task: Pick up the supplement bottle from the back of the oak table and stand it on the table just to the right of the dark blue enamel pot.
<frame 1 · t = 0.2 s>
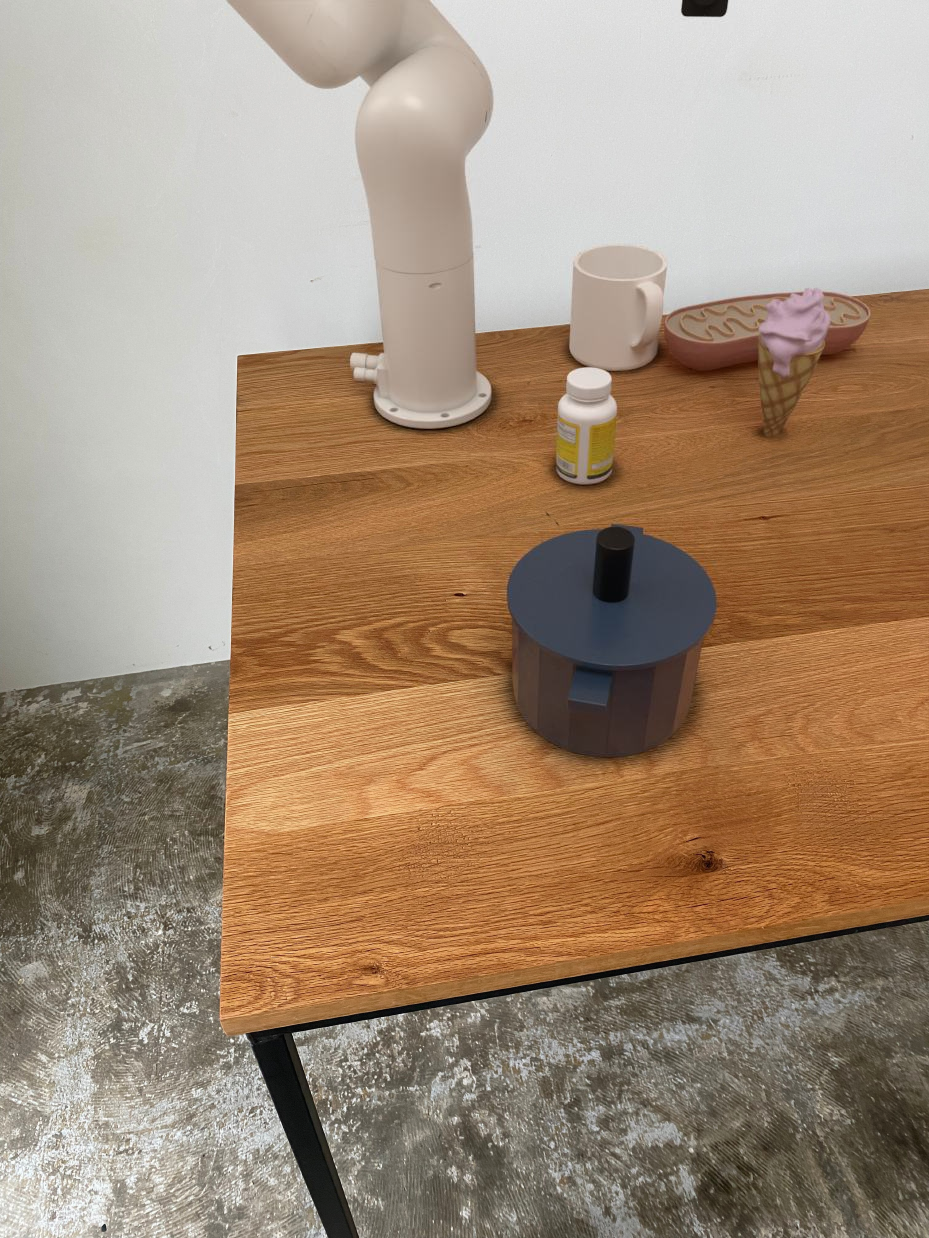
hand: (707, 2, 71), 36 cm above the table, tool pointing down, fingers open, 9 cm apart
mitochondrion model: (757, 358, 105), on the table
ice cream cone: (769, 437, 93), on the table
mug: (618, 357, 107), on the table
pot lid: (610, 597, 62), point 9 cm above the table, touching pot
supplement bottle: (583, 472, 90), on the table
pot: (601, 689, 69), on the table
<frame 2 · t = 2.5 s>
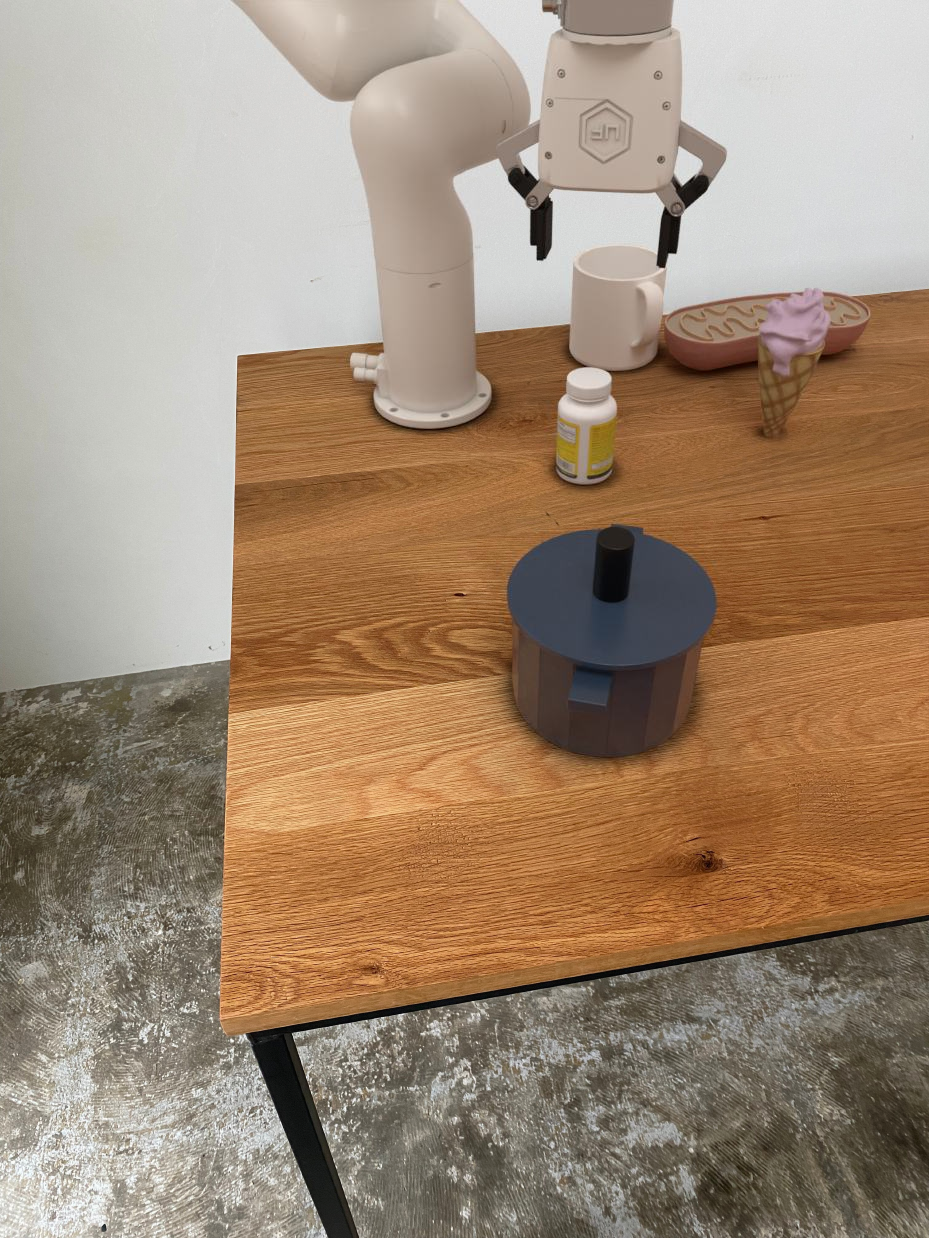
hand: (602, 258, 76), 20 cm above the table, tool pointing down, fingers open, 9 cm apart
nothing on the table moved.
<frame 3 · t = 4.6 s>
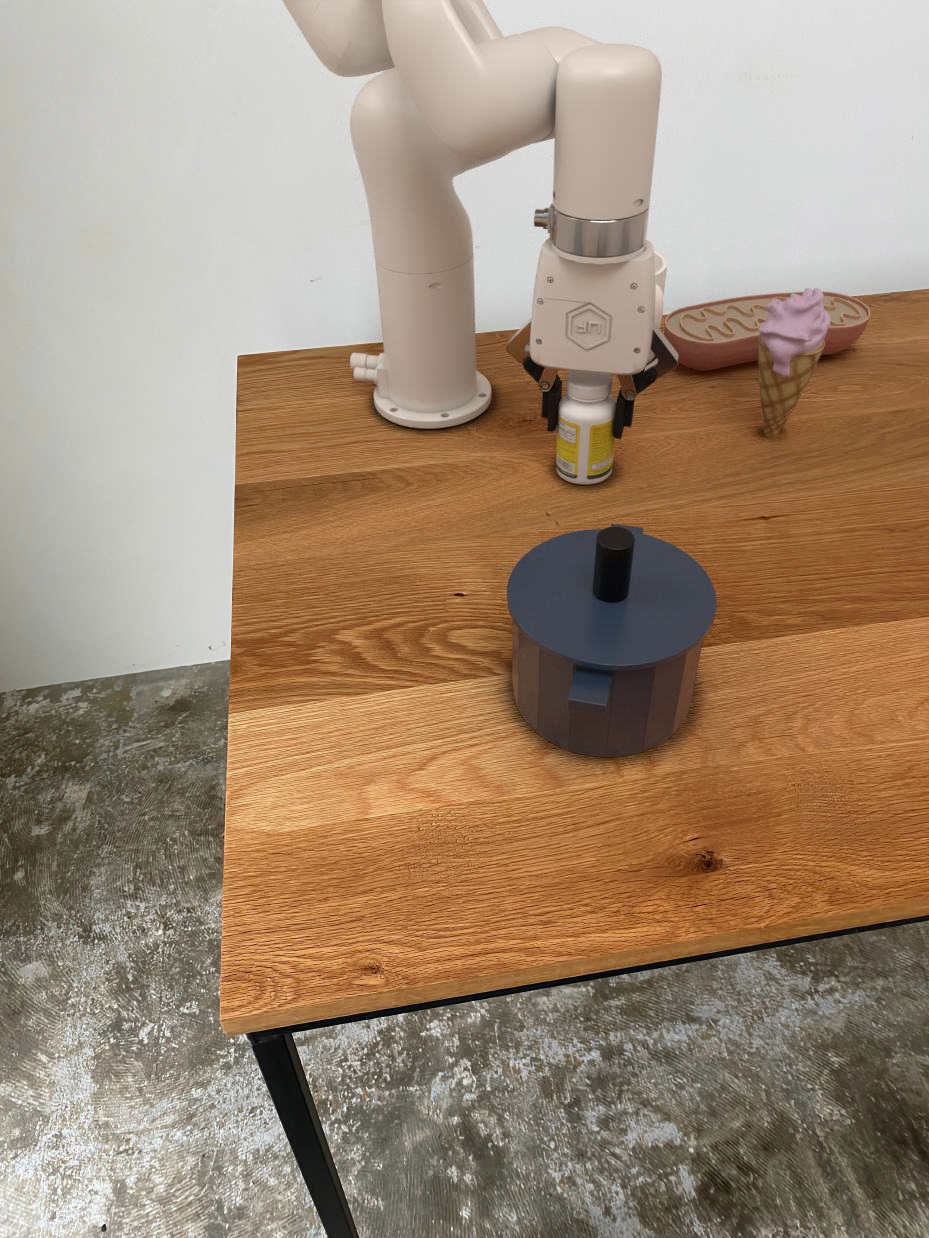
hand: (586, 426, 86), 5 cm above the table, tool pointing down, fingers closed on supplement bottle, 5 cm apart
supplement bottle: (583, 472, 90), on the table, touching gripper
everything else where it was.
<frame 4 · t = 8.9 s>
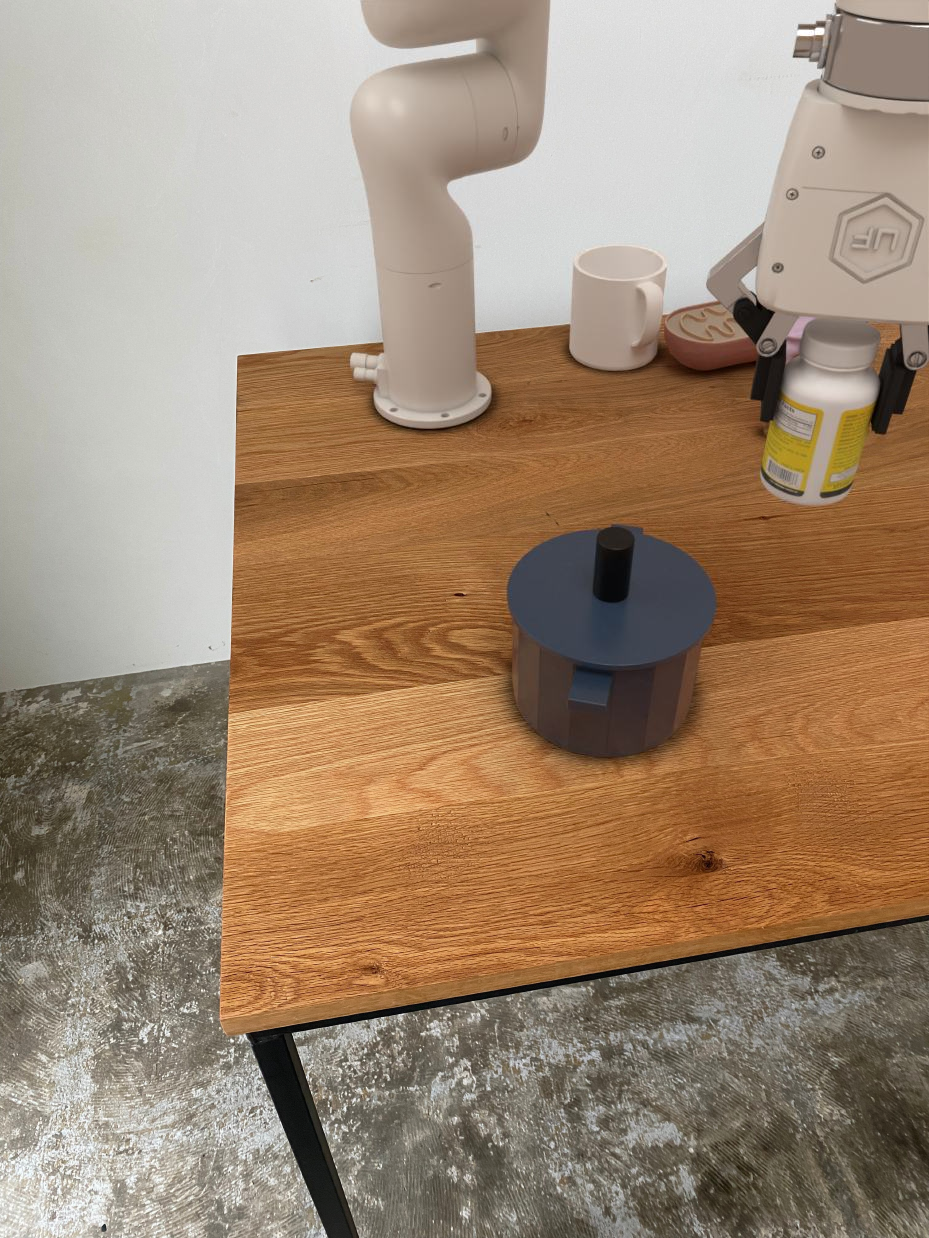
hand: (821, 413, 54), 22 cm above the table, tool pointing down, fingers closed on supplement bottle, 5 cm apart
supplement bottle: (802, 486, 57), point 17 cm above the table, touching gripper
everything else where it was.
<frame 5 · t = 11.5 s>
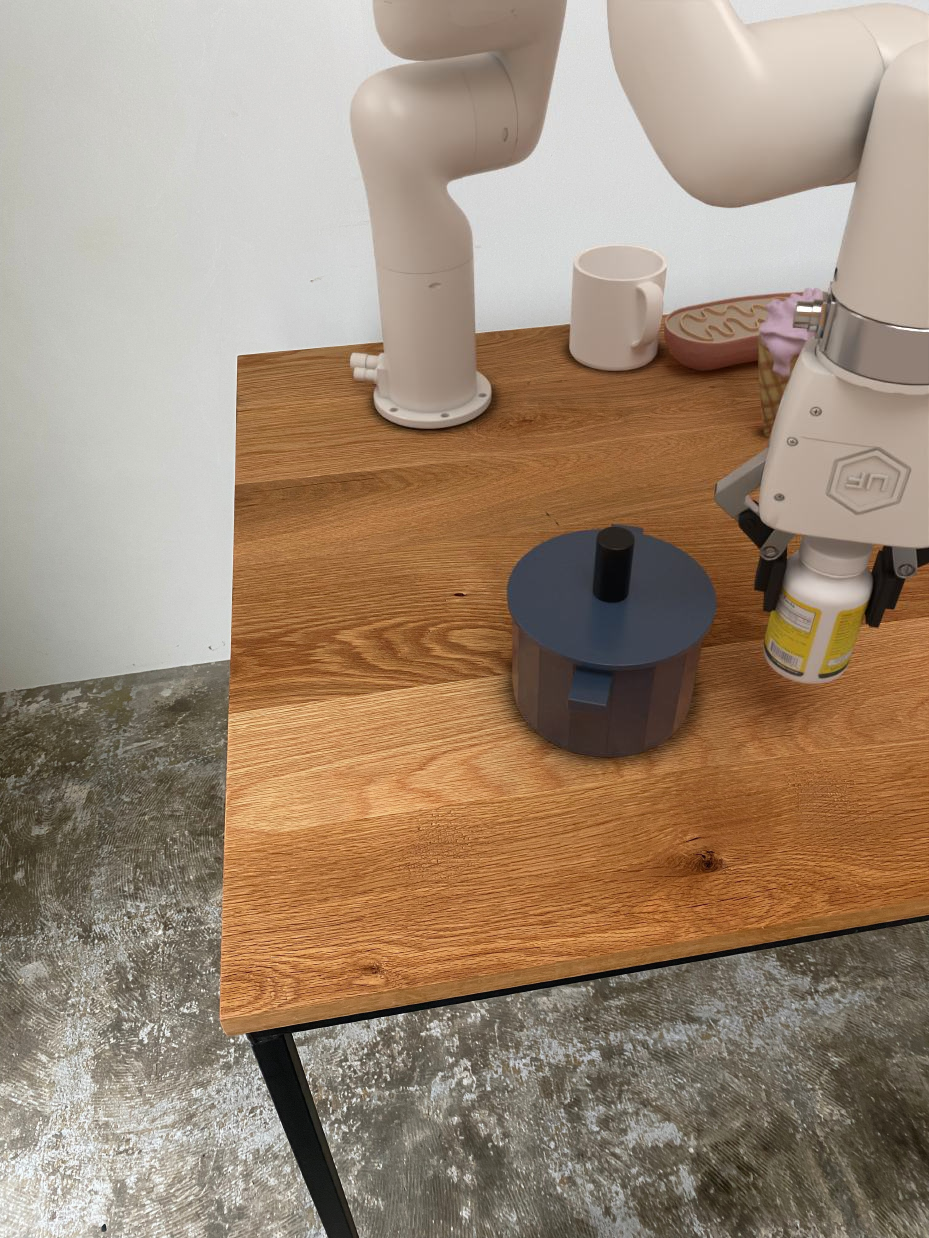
hand: (819, 602, 58), 11 cm above the table, tool pointing down, fingers closed on supplement bottle, 5 cm apart
supplement bottle: (802, 659, 62), point 6 cm above the table, touching gripper
everything else where it was.
when the fingers open (5 cm above the table, at t = 13.4 s): supplement bottle stays where it is, on the table.
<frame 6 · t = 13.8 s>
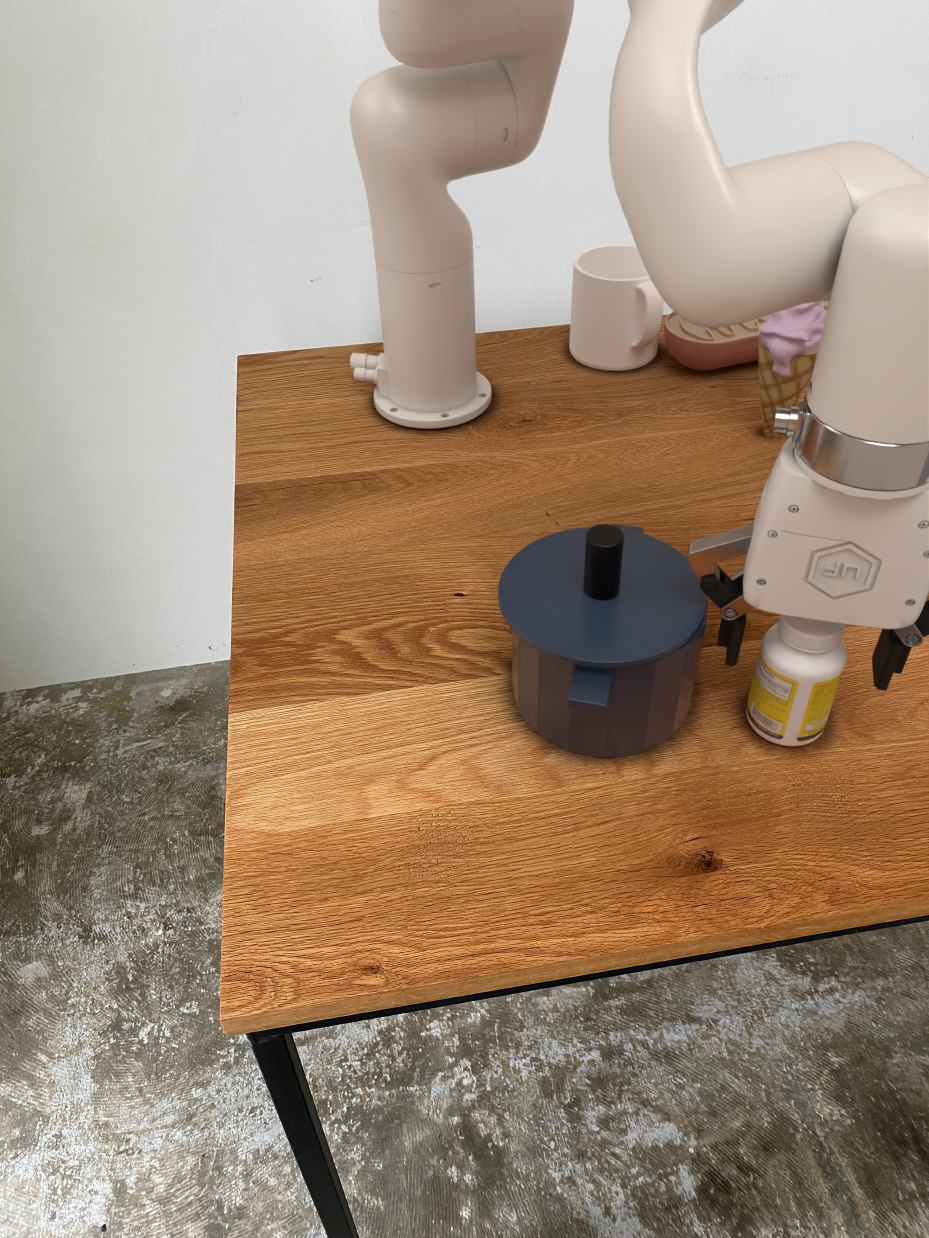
hand: (803, 663, 62), 6 cm above the table, tool pointing down, fingers open, 9 cm apart
pot lid: (601, 594, 62), point 9 cm above the table, touching gripper, pot
supplement bottle: (783, 721, 66), on the table
everything else where it was.
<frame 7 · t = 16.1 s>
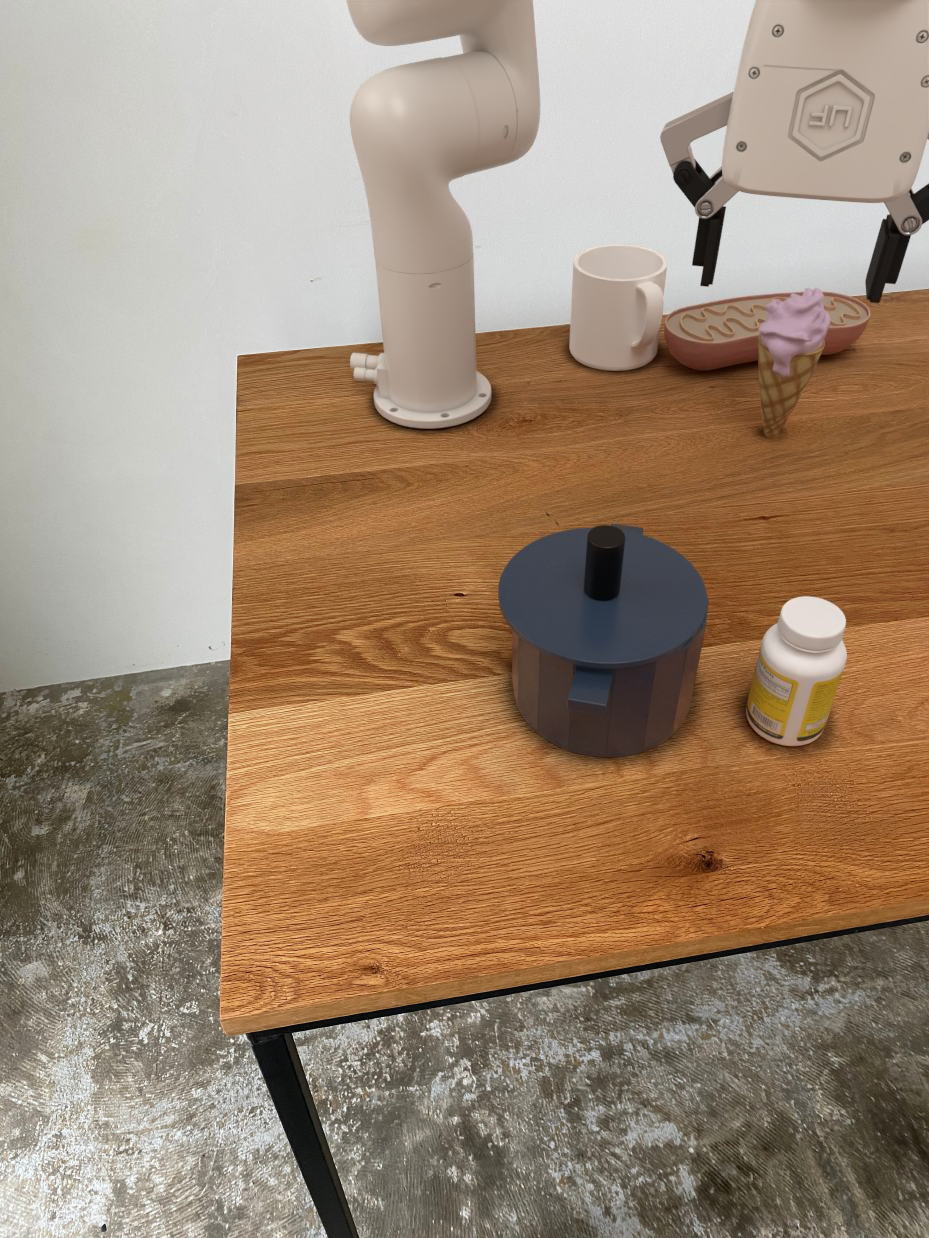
hand: (788, 285, 57), 26 cm above the table, tool pointing down, fingers open, 9 cm apart
pot lid: (601, 595, 63), point 9 cm above the table, touching pot
everything else where it was.
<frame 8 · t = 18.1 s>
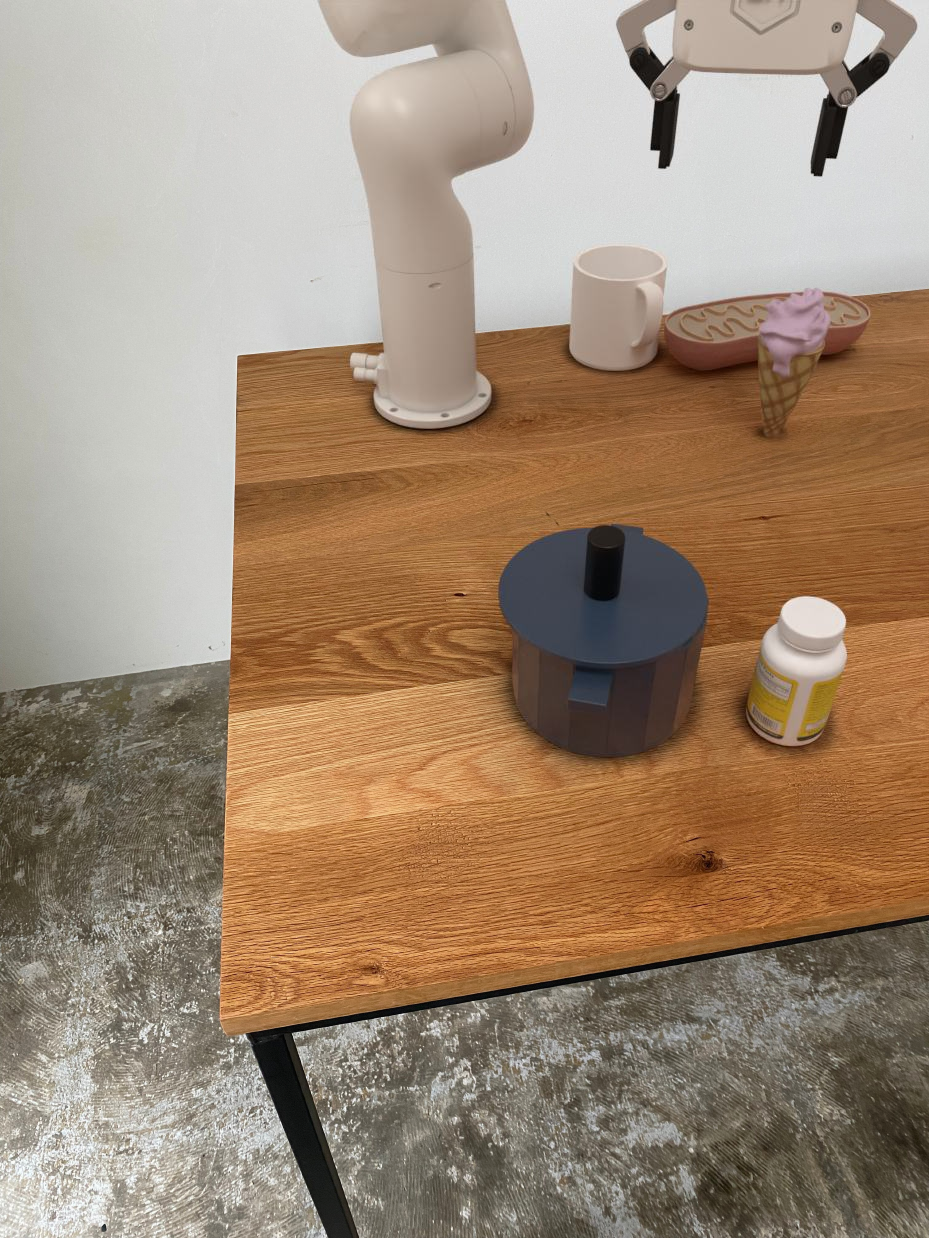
hand: (739, 166, 61), 30 cm above the table, tool pointing down, fingers open, 9 cm apart
nothing on the table moved.
at the end: supplement bottle inside the target area on the table beside the pot (0.4 cm from its centre), on the table; supplement bottle tilted 0°; the gripper is holding nothing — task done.
